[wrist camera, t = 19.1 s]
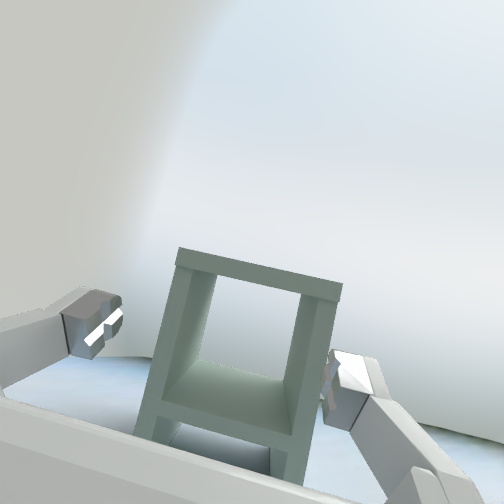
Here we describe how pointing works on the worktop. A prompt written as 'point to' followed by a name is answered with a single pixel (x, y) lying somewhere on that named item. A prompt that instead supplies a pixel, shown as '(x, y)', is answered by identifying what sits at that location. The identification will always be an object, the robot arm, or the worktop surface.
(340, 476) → the worktop surface
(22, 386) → the worktop surface
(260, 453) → the worktop surface
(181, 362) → the shelf
